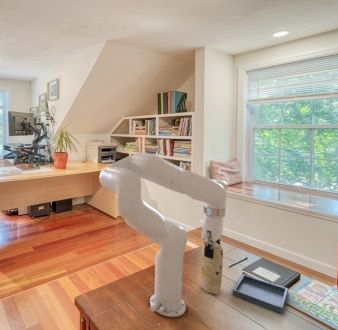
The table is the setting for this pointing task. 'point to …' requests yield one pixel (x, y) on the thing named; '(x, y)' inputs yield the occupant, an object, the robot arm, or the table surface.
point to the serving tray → (261, 293)
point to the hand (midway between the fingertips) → (212, 253)
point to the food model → (212, 270)
